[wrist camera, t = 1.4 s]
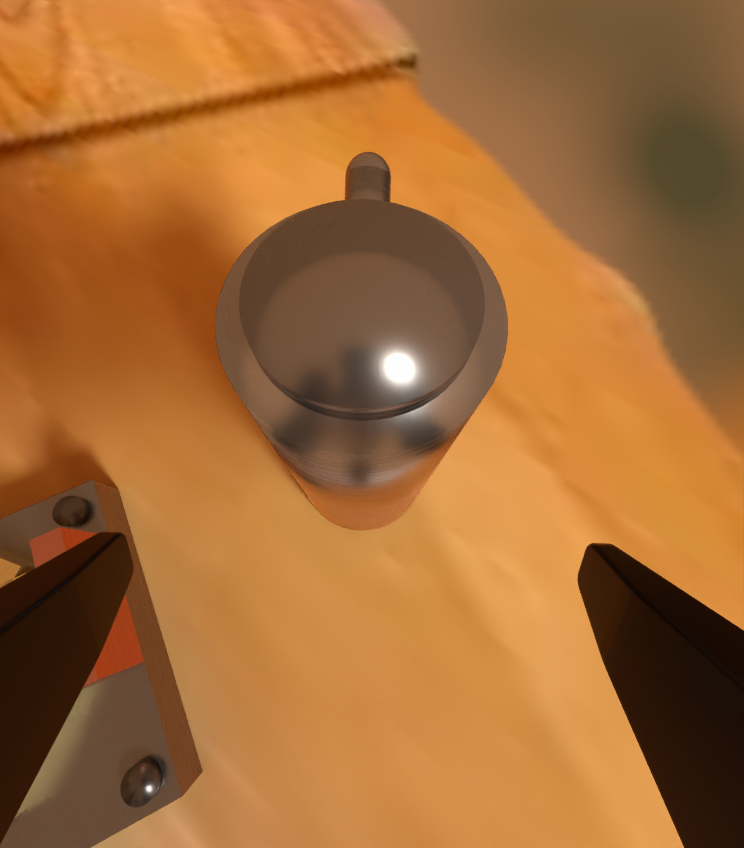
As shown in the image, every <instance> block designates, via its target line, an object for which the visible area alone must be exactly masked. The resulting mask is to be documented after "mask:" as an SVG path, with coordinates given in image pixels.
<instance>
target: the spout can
mask: <svg viewBox="0 0 744 848" xmlns="http://www.w3.org/2000/svg"><path fill="white" fill-rule="evenodd" d="M390 194H391V174H390V169H389V167H388V165H387V163H386V161H385V160H384V159H383V158H382V157H381V156H379V155H378V154H376V153H373V152H363V153H361V154H358V155H357V156H355V157H354V158H353V159H352V160H351V161H350V163H349V165H348V167H347V170H346V176H345V200H342V201H335V202H331V203H326V204H322V205H319V206H315V207H312V208H309V209H306V210H303V211H300V212H298V213H296V214H293V215H291V216H289V217H287V218H285V219H283V220H281V221H280V222H278V223H276V224H275V225H273V226H272V227H270V228H269V229H267V230H266V231H265V232H263V233H262V234H261V235H260V236H258V237H257V238H256V239H255V240H254V241H253V242H252V243H251V244H250V245H249V246H248V247H247V248H246V249H245V250H244V251H243V253H242V254H241V255H240V257H239V258H238V259H237V260H236V262H235V263H234V265H233V267H232V268H231V270H230V272H229V274H228V275H227V277H226V279H225V282H224V284H223V287H222V289H221V292H220V296H219V300H218V304H217V308H216V320H215V332H216V344H217V348H218V352H219V357H220V360H221V363H222V365H223V368H224V370H225V373H226V376H227V377H228V379H229V381H230V382H231V384H232V386H233V388H234V389H235V391H236V393H237V394H238V395H239V397H240V398H241V400H242V401H243V403H244V404H245V406H246V407H247V409H248V410H249V412H250V413H251V415H252V416H253V418H254V419H255V421H256V422H257V423H258V425H259V426H260V428H261V429H262V431H263V432H264V434H265V435H266V437H267V438H268V440H269V441H270V443H271V444H272V446H273V447H274V448H275V450H276V451H277V453H278V454H279V456H280V457H281V459H282V460H283V462H284V463H285V465H286V466H287V468H288V469H289V471H290V472H291V474H292V475H293V476H294V478H295V479H296V481H297V482H298V484H299V485H300V487H301V488H302V490H303V491H304V493H305V494H306V496H307V497H308V499H309V500H310V501H311V503H312V504H313V506H314V507H315V508H316V510H317V511H318V512H319V513H320V514H321V515H322V516H323V517H325V518H326V519H328V520H329V521H330V522H332V523H334V524H336V525H338V526H341V527H344V528H347V529H352V530H372V529H377V528H380V527H383V526H386V525H388V524H390V523H392V522H393V521H395V520H397V519H398V518H399V517H400V516H402V515H403V514H404V513H405V512H406V511H407V510H408V508H409V507H410V506H411V504H412V503H413V501H414V500H415V498H416V497H417V495H418V494H419V493H420V491H421V490H422V488H423V487H424V485H425V484H426V482H427V481H428V479H429V478H430V476H431V475H432V473H433V472H434V470H435V469H436V467H437V466H438V464H439V463H440V461H441V460H442V458H443V457H444V456H445V454H446V453H447V451H448V450H449V448H450V447H451V445H452V444H453V442H454V441H455V439H456V438H457V436H458V435H459V433H460V432H461V430H462V429H463V427H464V426H465V424H466V423H467V421H468V420H469V419H470V417H471V416H472V414H473V413H474V411H475V410H476V408H477V407H478V405H479V404H480V402H481V401H482V399H483V398H484V396H485V395H486V393H487V392H488V390H489V389H490V387H491V386H492V384H493V383H494V380H495V378H496V376H497V374H498V372H499V370H500V368H501V365H502V361H503V358H504V354H505V351H506V344H507V336H508V318H507V312H506V306H505V301H504V297H503V294H502V291H501V288H500V285H499V283H498V281H497V279H496V277H495V275H494V273H493V271H492V269H491V268H490V266H489V265H488V263H487V262H486V260H485V259H484V257H483V256H482V255H481V254H480V253H479V252H478V251H477V249H476V248H475V247H474V246H473V245H472V244H471V243H470V242H469V241H468V240H467V239H465V238H464V237H463V236H462V235H461V234H460V233H458V232H457V231H456V230H454V229H453V228H451V227H450V226H449V225H447V224H445V223H444V222H442V221H440V220H438V219H436V218H434V217H433V216H430V215H428V214H426V213H423V212H421V211H418V210H416V209H413V208H409V207H406V206H403V205H399V204H396V203H391V202H390Z"/></svg>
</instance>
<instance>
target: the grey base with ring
mask: <svg viewBox="0 0 744 848" xmlns="http://www.w3.org/2000/svg"><path fill="white" fill-rule="evenodd" d="M99 532H121V533H123V534H124V535H125V536H126V538H127V541H128V545H129V549H130V552H131V556H132V559H133V564H134V572H133V576H132V579H131V581H130V584H129V586H128V589H127V591H126V594H125V596H124V599H123V601H122V603H121V606H120V608H119V611H118V613H117V616H116V618H115V621H114V623H113V626H112V628H111V631H110V633H109V636H108V638H107V641H106V643H105V645H104V647H103V650H102V652H101V654H100V656H99V658H98V660H97V662H96V664H95V666H94V668H93V670H92V672H91V674H90V676H89V678H88V679H87V681H86V683H85V685H84V687H83V689H82V691H81V693H80V695H79V697H78V698H77V700H76V702H75V704H74V706H73V708H72V710H71V712H70V714H69V716H68V717H67V719H66V721H65V723H64V725H63V727H62V729H61V731H60V733H59V735H58V736H57V738H56V740H55V742H54V744H53V746H52V748H51V750H50V752H49V754H48V756H47V757H46V759H45V761H44V763H43V765H42V767H41V769H40V771H39V773H38V775H37V776H36V778H35V780H34V782H33V784H32V786H31V788H30V790H29V792H28V794H27V795H26V797H25V799H24V801H23V803H22V805H21V807H20V809H19V811H18V813H17V814H16V816H15V818H14V820H13V822H12V824H11V826H10V828H9V830H8V832H7V834H6V835H5V837H4V839H3V841H2V843H1V845H0V848H91V847H92V846H94V845H96V844H98V843H99V842H101V841H103V840H105V839H107V838H108V837H110V836H112V835H114V834H116V833H117V832H119V831H121V830H123V829H125V828H126V827H128V826H130V825H132V824H134V823H135V822H137V821H139V820H141V819H143V818H144V817H146V816H148V815H150V814H152V813H153V812H155V811H157V810H159V809H161V808H162V807H164V806H166V805H168V804H169V803H171V802H173V801H175V800H177V799H178V798H180V797H182V796H183V795H184V794H185V792H186V791H187V790H188V789H189V788H190V786H191V785H192V784H193V783H194V781H195V780H196V779H197V778H198V777H199V775H200V774H201V773H202V772H203V771H202V768H201V765H200V761H199V758H198V755H197V751H196V748H195V745H194V741H193V738H192V735H191V731H190V728H189V725H188V721H187V718H186V715H185V711H184V708H183V705H182V701H181V698H180V695H179V691H178V688H177V685H176V681H175V678H174V674H173V671H172V668H171V664H170V661H169V658H168V654H167V651H166V648H165V644H164V641H163V638H162V634H161V631H160V628H159V624H158V621H157V618H156V614H155V611H154V608H153V604H152V601H151V598H150V594H149V591H148V588H147V584H146V581H145V577H144V574H143V571H142V567H141V564H140V561H139V557H138V554H137V551H136V547H135V544H134V541H133V537H132V534H131V531H130V527H129V524H128V521H127V517H126V514H125V511H124V507H123V504H122V501H121V497H120V494H119V491H118V489H117V488H115V487H112V486H109V485H106V484H104V483H101V482H98V481H95V480H91V481H88V482H86V483H83V484H81V485H79V486H76V487H74V488H72V489H69V490H67V491H65V492H62V493H60V494H57V495H55V496H53V497H50V498H48V499H46V500H43V501H41V502H39V503H36V504H34V505H31V506H29V507H27V508H24V509H22V510H20V511H17V512H15V513H13V514H10V515H8V516H5V517H3V518H1V519H0V588H1V587H3V586H5V585H6V584H8V583H10V582H12V581H13V580H15V579H17V578H19V577H21V576H22V575H24V574H26V573H28V572H29V571H31V570H33V569H35V568H37V567H38V566H40V565H42V564H44V563H45V562H47V561H49V560H51V559H53V558H54V557H56V556H58V555H60V554H61V553H63V552H65V551H67V550H69V549H70V548H72V547H74V546H76V545H77V544H79V543H81V542H83V541H85V540H86V539H88V538H90V537H92V536H93V535H95V534H97V533H99Z"/></svg>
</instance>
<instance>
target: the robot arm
mask: <svg viewBox="0 0 744 848" xmlns="http://www.w3.org/2000/svg"><path fill="white" fill-rule="evenodd" d="M133 572H134V564H133V559H132V556H131V552H130V549H129V545H128V541H127V538H126V536H125V535H124V534H123V533H121V532H99V533H97V534H95V535H93V536H92V537H90V538H88V539H86V540H85V541H83V542H81V543H79V544H77V545H76V546H74V547H72V548H70V549H69V550H67V551H65V552H63V553H61V554H60V555H58V556H56V557H54V558H53V559H51V560H49V561H47V562H45V563H44V564H42V565H40V566H38V567H37V568H35V569H33V570H31V571H29V572H28V573H26V574H24V575H22V576H21V577H19V578H17V579H15V580H13V581H12V582H10V583H8V584H6V585H5V586H3V587H1V588H0V845H1V843H2V841H3V839H4V837H5V835H6V834H7V832H8V830H9V828H10V826H11V824H12V822H13V820H14V818H15V816H16V814H17V813H18V811H19V809H20V807H21V805H22V803H23V801H24V799H25V797H26V795H27V794H28V792H29V790H30V788H31V786H32V784H33V782H34V780H35V778H36V776H37V775H38V773H39V771H40V769H41V767H42V765H43V763H44V761H45V759H46V757H47V756H48V754H49V752H50V750H51V748H52V746H53V744H54V742H55V740H56V738H57V736H58V735H59V733H60V731H61V729H62V727H63V725H64V723H65V721H66V719H67V717H68V716H69V714H70V712H71V710H72V708H73V706H74V704H75V702H76V700H77V698H78V697H79V695H80V693H81V691H82V689H83V687H84V685H85V683H86V681H87V679H88V678H89V676H90V674H91V672H92V670H93V668H94V666H95V664H96V662H97V660H98V658H99V656H100V654H101V652H102V650H103V647H104V645H105V643H106V641H107V638H108V636H109V633H110V631H111V628H112V626H113V623H114V621H115V618H116V616H117V613H118V611H119V608H120V606H121V603H122V601H123V599H124V596H125V594H126V591H127V589H128V586H129V584H130V581H131V579H132V576H133ZM578 586H579V590H580V593H581V596H582V599H583V602H584V605H585V608H586V611H587V614H588V617H589V620H590V624H591V627H592V630H593V633H594V636H595V639H596V642H597V645H598V648H599V651H600V654H601V657H602V660H603V663H604V665H605V668H606V670H607V672H608V675H609V677H610V679H611V682H612V684H613V686H614V689H615V691H616V693H617V695H618V698H619V700H620V702H621V705H622V707H623V709H624V711H625V714H626V716H627V718H628V721H629V723H630V725H631V727H632V730H633V732H634V734H635V737H636V739H637V741H638V743H639V746H640V748H641V750H642V752H643V755H644V757H645V759H646V762H647V764H648V766H649V768H650V771H651V773H652V775H653V778H654V780H655V782H656V784H657V787H658V789H659V791H660V794H661V796H662V798H663V800H664V803H665V805H666V807H667V810H668V812H669V814H670V816H671V819H672V821H673V823H674V825H675V828H676V830H677V832H678V835H679V837H680V839H681V841H682V844H683V846H684V848H744V630H742V629H741V628H739V627H738V626H736V625H734V624H733V623H731V622H730V621H728V620H727V619H725V618H724V617H722V616H721V615H719V614H718V613H716V612H715V611H713V610H712V609H710V608H709V607H707V606H706V605H704V604H703V603H701V602H699V601H698V600H696V599H695V598H693V597H692V596H690V595H689V594H687V593H686V592H684V591H683V590H681V589H680V588H678V587H677V586H675V585H674V584H672V583H671V582H669V581H668V580H666V579H664V578H663V577H661V576H660V575H658V574H657V573H655V572H654V571H652V570H651V569H649V568H648V567H646V566H645V565H643V564H642V563H640V562H639V561H637V560H636V559H634V558H632V557H631V556H629V555H628V554H626V553H625V552H623V551H622V550H620V549H619V548H617V547H616V546H614V545H612V544H608V543H592V544H589V545H588V546H587V548H586V550H585V553H584V557H583V560H582V563H581V566H580V569H579V572H578Z"/></svg>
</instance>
